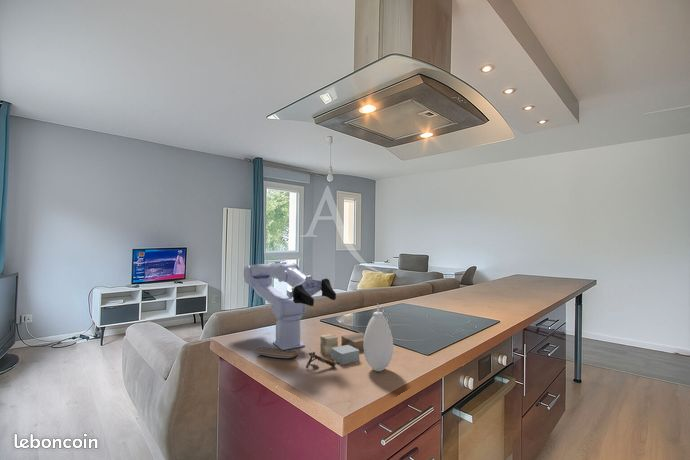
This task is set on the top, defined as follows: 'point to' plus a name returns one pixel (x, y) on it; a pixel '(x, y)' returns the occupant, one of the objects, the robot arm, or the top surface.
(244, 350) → the top surface
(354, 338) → the tan square slab
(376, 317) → the sauce bottle
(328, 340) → the maple block
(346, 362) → the slate grey block
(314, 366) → the toy blunderbuss
